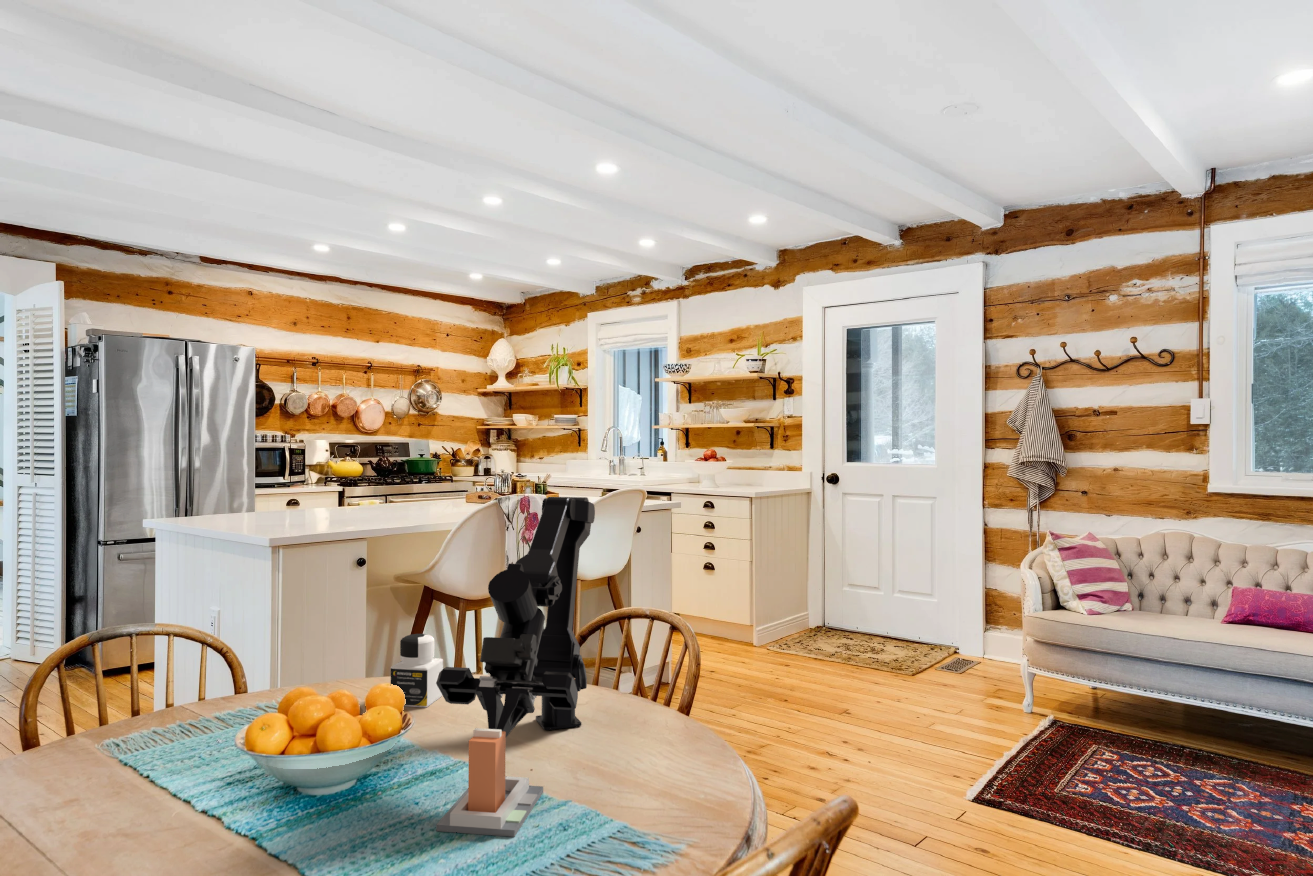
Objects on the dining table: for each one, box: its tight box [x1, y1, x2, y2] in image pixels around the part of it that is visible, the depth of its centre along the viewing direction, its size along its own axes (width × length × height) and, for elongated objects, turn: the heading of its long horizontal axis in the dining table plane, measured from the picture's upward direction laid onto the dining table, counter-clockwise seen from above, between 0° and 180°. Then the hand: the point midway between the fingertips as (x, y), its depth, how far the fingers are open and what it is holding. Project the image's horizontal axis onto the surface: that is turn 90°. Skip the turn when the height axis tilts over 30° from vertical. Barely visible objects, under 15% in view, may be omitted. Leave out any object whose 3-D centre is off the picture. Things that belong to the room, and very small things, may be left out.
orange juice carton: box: [467, 727, 507, 813], centre depth 108 cm, size 4×4×10 cm
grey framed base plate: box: [435, 775, 544, 838], centre depth 110 cm, size 13×10×2 cm
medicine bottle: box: [390, 633, 444, 708], centre depth 155 cm, size 7×7×12 cm
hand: (493, 747), depth 110 cm, fingers closed
